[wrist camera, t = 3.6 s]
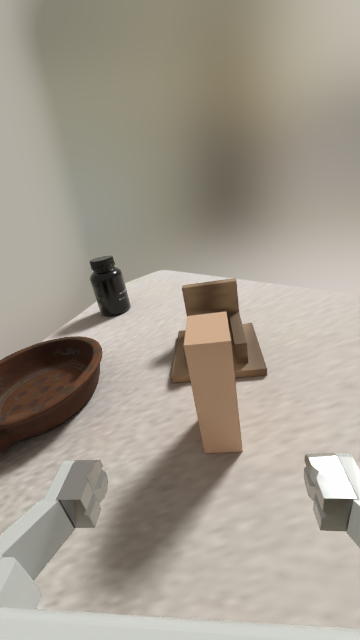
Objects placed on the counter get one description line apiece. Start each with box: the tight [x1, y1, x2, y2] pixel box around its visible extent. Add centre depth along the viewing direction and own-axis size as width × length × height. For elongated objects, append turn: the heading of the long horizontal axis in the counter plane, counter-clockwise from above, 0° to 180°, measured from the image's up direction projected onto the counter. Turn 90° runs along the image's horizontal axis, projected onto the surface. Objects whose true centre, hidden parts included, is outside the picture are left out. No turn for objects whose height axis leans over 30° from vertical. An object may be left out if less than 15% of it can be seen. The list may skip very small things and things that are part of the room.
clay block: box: [184, 311, 243, 453], centre depth 25 cm, size 4×5×12 cm
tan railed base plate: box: [171, 278, 267, 383], centre depth 38 cm, size 12×12×9 cm
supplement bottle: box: [90, 256, 130, 316], centre depth 59 cm, size 7×7×12 cm
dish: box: [0, 337, 102, 453], centre depth 36 cm, size 17×22×5 cm
